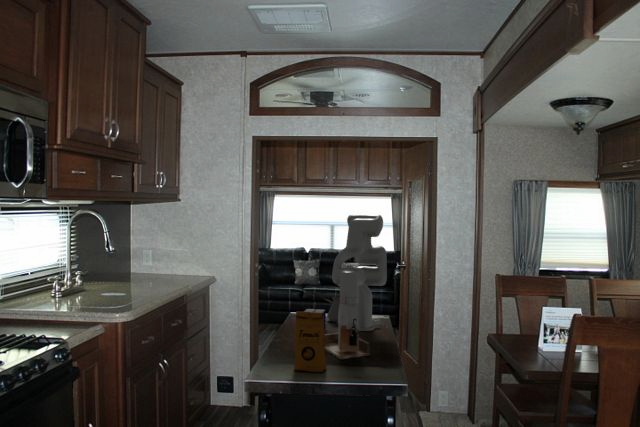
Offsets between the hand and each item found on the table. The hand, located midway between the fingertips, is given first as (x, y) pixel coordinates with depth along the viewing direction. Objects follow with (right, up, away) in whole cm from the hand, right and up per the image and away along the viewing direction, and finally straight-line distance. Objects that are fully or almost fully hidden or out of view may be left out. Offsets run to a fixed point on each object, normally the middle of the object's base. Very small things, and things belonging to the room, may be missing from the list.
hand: (348, 342), depth 200 cm
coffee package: (-15, -5, -19) cm, 25 cm away
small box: (0, -3, 0) cm, 3 cm away
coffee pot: (-7, -4, +60) cm, 60 cm away
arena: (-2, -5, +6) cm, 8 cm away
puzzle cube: (-15, -5, +37) cm, 40 cm away
